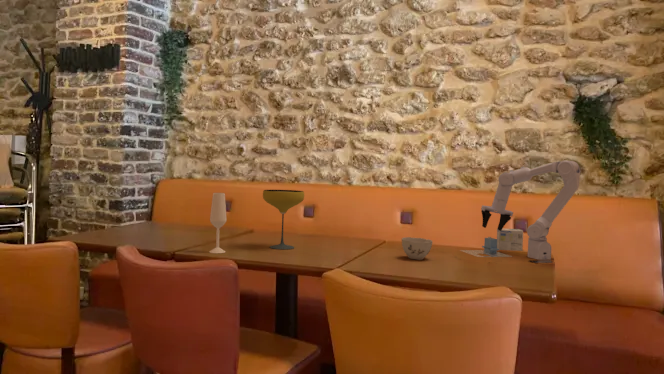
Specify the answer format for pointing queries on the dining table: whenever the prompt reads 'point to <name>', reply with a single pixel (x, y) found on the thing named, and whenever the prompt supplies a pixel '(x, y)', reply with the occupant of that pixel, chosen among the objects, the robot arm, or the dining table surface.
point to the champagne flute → (218, 217)
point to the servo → (490, 245)
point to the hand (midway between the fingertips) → (491, 228)
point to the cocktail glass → (283, 206)
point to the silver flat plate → (476, 252)
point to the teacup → (416, 247)
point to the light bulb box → (510, 239)
